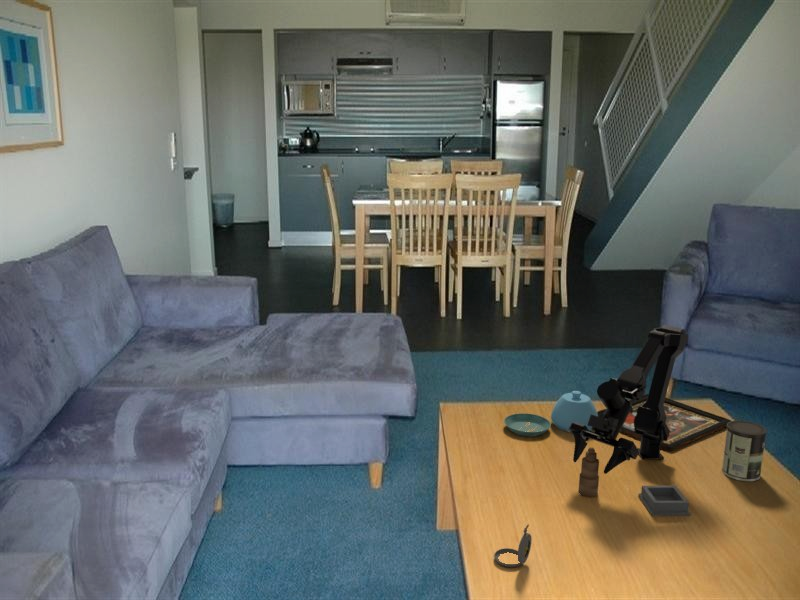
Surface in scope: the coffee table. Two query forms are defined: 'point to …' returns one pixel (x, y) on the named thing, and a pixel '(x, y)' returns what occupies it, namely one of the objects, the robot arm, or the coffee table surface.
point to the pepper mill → (589, 474)
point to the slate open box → (664, 500)
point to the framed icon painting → (677, 423)
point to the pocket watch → (522, 551)
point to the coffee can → (744, 450)
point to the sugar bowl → (573, 410)
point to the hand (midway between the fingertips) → (589, 467)
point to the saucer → (520, 420)
